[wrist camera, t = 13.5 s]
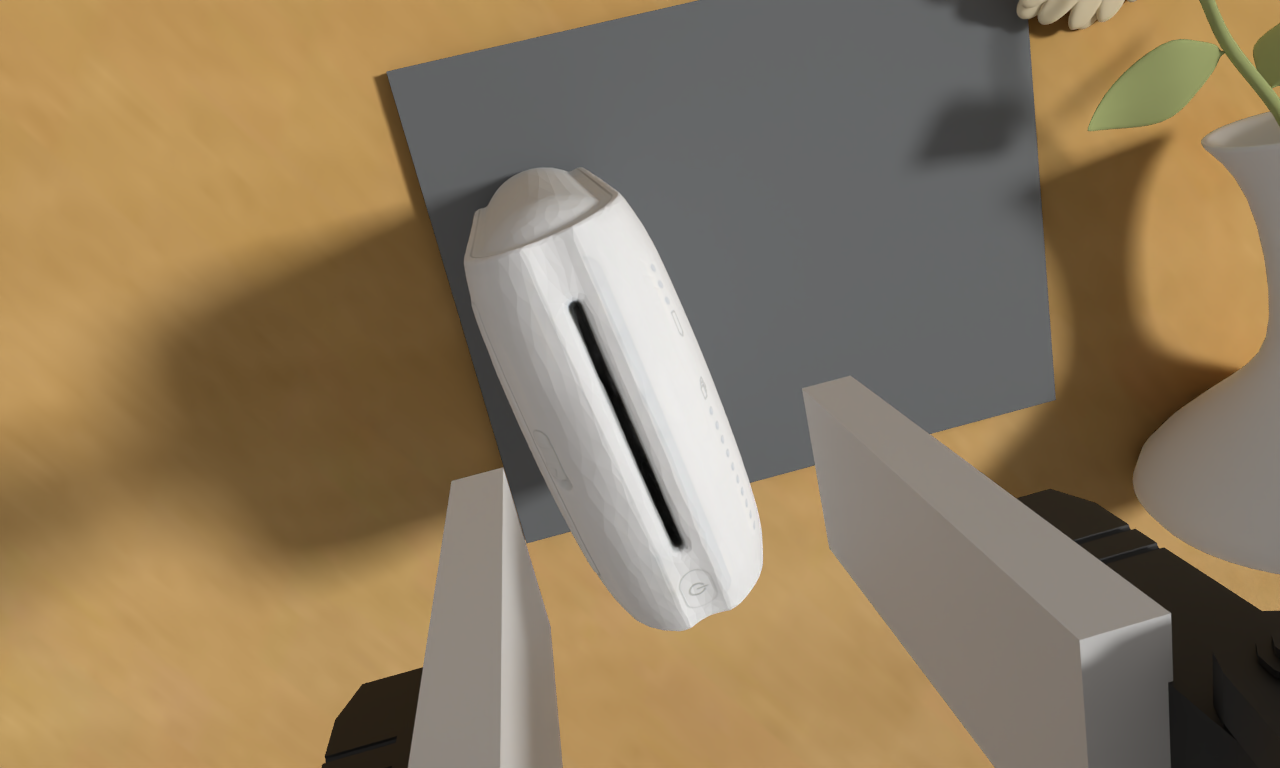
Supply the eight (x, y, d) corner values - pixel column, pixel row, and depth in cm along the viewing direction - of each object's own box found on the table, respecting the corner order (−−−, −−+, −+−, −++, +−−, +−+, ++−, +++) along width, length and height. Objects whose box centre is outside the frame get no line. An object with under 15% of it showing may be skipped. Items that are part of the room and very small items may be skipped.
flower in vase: (1382, 412, 35) (1354, -308, 27) (1688, 567, 24) (1788, -554, 16) (1046, 491, 37) (931, -156, 29) (1190, 666, 26) (1067, -285, 18)
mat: (1014, -71, 27) (1021, -74, 27) (1049, 396, 32) (1055, 399, 32) (388, 72, 26) (386, 71, 26) (526, 538, 31) (526, 543, 31)
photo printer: (699, 428, 30) (821, 622, 19) (585, 477, 30) (636, 703, 18) (585, 143, 27) (646, 162, 15) (457, 197, 27) (419, 256, 15)
